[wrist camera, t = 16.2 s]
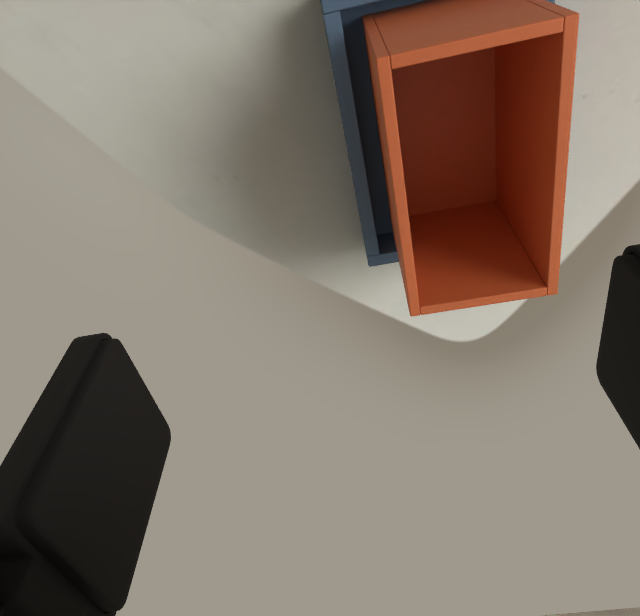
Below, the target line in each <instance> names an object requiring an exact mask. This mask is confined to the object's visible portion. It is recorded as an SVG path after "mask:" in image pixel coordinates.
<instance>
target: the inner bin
mask: <svg viewBox="0 0 640 616" xmlns="http://www.w3.org/2000/svg"><path fill="white" fill-rule="evenodd" d="M362 22H363V29H364V36H365V43H366V50H367V57H368V64H369V71H370V78H371V85H372V92H373V99H374V106H375V113H376V120H377V127H378V134H379V141H380V148H381V155H382V162H383V169H384V176H385V183H386V190H387V197H388V204H389V211H390V218H391V224H392V229H393V234H394V239H395V243H396V248H397V253H398V258H399V263H400V268H401V273H402V278H403V283H404V287H405V292H406V297H407V302H408V307H409V312H410V316H417V315H420V314H421V315H424V314H430V313H437V312H443V311H450V310H456V309H463V308H469V307H476V306H482V305H488V304H495V303H501V302H508V301H514V300H521V299H527V298H534V297H540V296H546V295H554V294H557V293H558V292H557V291H558V280H559V268H560V255H561V242H562V229H563V216H564V203H565V190H566V177H567V164H568V152H569V139H570V126H571V113H572V100H573V87H574V74H575V61H576V48H577V36H578V23H579V13H577V12H574V11H571V10H569V9H566V8H564V7H561V6H559V5H556V4H554V3H551V2H548V1H546V0H427V1H423V2H418V3H414V4H410V5H406V6H401V7H397V8H393V9H388V10H384V11H380V12H376V13H371V14H367V15H363V16H362Z"/></svg>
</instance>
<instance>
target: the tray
mask: <svg viewBox="0 0 640 616" xmlns="http://www.w3.org/2000/svg"><path fill="white" fill-rule="evenodd" d="M320 1H321V6H322V12H323V18H324V23H325V29H326V34H327V40H328V45H329V51H330V56H331V62H332V67H333V73H334V78H335V84H336V89H337V95H338V100H339V106H340V111H341V117H342V122H343V128H344V133H345V139H346V144H347V150H348V155H349V161H350V166H351V172H352V177H353V183H354V188H355V193H356V199H357V204H358V210H359V215H360V221H361V226H362V232H363V237H364V243H365V248H366V254H367V259H368V265H369V266H376V265H382V264H388V263H394V262H399V258H398V253H397V248H396V243H395V239H394V234H393V229H392V224H391V218H390V211H389V204H388V197H387V190H386V183H385V176H384V169H383V162H382V155H381V148H380V141H379V134H378V127H377V120H376V113H375V106H374V99H373V92H372V85H371V78H370V71H369V64H368V57H367V50H366V43H365V36H364V29H363V22H362V16H363V15H367V14H371V13H376V12H380V11H384V10H388V9H393V8H397V7H401V6H406V5H410V4H414V3H418V2H423V1H427V0H320ZM546 1H548V2H551V3H554V4H555V0H546Z"/></svg>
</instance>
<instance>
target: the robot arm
mask: <svg viewBox="0 0 640 616" xmlns="http://www.w3.org/2000/svg"><path fill="white" fill-rule="evenodd" d="M596 369H597V376H598V379H599V382H600V384H601V386H602V387H603V389H604V391H605V392H606V394H607V396H608V397H609V399H610V400H611V402H612V404H613V405H614V407H615V409H616V411H617V412H618V414H619V415H620V417H621V419H622V420H623V422H624V424H625V425H626V427H627V429H628V430H629V432H630V434H631V435H632V437H633V439H634V440H635V442H636V444H637V445H638V447H639V449H640V244H638V245H632V246H628V247H627V248H626V249H625V250H624V252H623V255H622V256H618V257H616V258H615V259H614V262H613V266H612V272H611V279H610V285H609V291H608V297H607V303H606V309H605V315H604V321H603V328H602V334H601V341H600V346H599V352H598V358H597V366H596ZM170 441H171V434H170V428H169V426H168V424H167V422H166V420H165V419H164V417H163V415H162V413H161V411H160V410H159V408H158V406H157V404H156V403H155V401H154V399H153V397H152V396H151V394H150V392H149V390H148V389H147V387H146V385H145V383H144V382H143V380H142V378H141V377H140V375H139V373H138V371H137V369H136V368H135V366H134V364H133V362H132V361H131V359H130V357H129V355H128V354H127V352H126V350H125V348H124V347H123V345H122V343H121V342H120V341H119V340H118V339H112V337H111V336H110V335H108V334H107V333H100V334H94V335H88V336H82V337H78V338H75V339H74V340H73V341H72V343H71V344H70V346H69V348H68V350H67V351H66V353H65V355H64V356H63V358H62V360H61V362H60V363H59V365H58V367H57V369H56V370H55V372H54V374H53V376H52V377H51V379H50V381H49V382H48V384H47V386H46V388H45V390H44V391H43V393H42V395H41V396H40V398H39V400H38V402H37V403H36V405H35V407H34V408H33V410H32V412H31V414H30V415H29V417H28V419H27V421H26V422H25V424H24V426H23V428H22V430H21V432H20V433H19V435H18V436H17V438H16V440H15V442H14V443H13V445H12V447H11V448H10V450H9V452H8V454H7V455H6V457H5V459H4V461H3V462H2V464H1V466H0V616H115V615H116V611H118V610H120V609H121V608H123V606H124V604H125V602H126V599H127V596H128V592H129V589H130V585H131V582H132V578H133V575H134V571H135V568H136V564H137V561H138V557H139V553H140V550H141V546H142V542H143V539H144V535H145V532H146V528H147V525H148V521H149V518H150V514H151V510H152V507H153V503H154V500H155V496H156V492H157V489H158V485H159V482H160V478H161V475H162V471H163V467H164V464H165V460H166V457H167V453H168V449H169V446H170ZM545 616H640V608H629V609H616V610H605V611H592V612H580V613H569V614H557V615H545Z"/></svg>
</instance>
